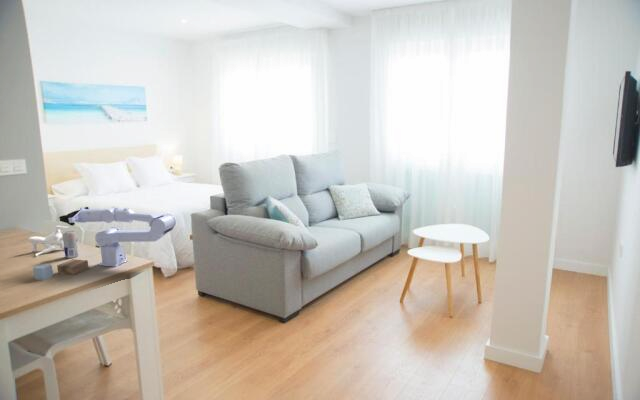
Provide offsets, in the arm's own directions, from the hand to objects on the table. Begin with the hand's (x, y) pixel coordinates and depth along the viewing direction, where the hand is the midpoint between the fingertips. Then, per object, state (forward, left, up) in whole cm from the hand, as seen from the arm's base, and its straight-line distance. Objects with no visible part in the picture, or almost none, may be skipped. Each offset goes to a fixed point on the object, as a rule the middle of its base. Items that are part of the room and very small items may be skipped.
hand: (66, 216), depth 192 cm
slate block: (-5, +19, -21) cm, 29 cm away
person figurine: (+24, -12, -22) cm, 35 cm away
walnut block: (-11, +10, -22) cm, 26 cm away
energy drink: (+6, -6, -21) cm, 23 cm away
